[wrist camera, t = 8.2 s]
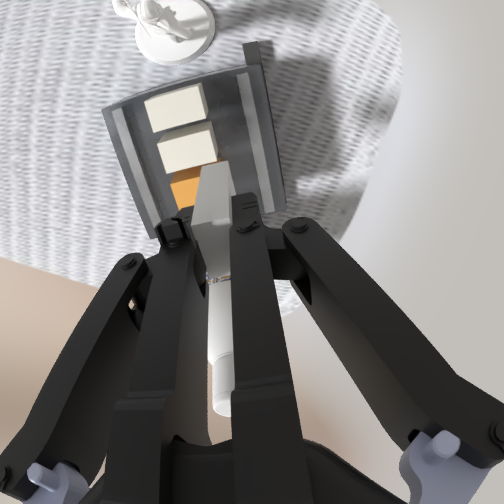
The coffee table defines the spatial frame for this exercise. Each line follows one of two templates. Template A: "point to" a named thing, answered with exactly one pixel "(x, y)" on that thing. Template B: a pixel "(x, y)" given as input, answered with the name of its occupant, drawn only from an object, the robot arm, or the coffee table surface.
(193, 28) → the figurine
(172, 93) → the cream rectangular block
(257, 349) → the robot arm
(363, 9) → the coffee table surface
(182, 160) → the paddle
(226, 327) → the bath foam
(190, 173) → the paddle
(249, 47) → the dark grey slat
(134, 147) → the breaker panel
